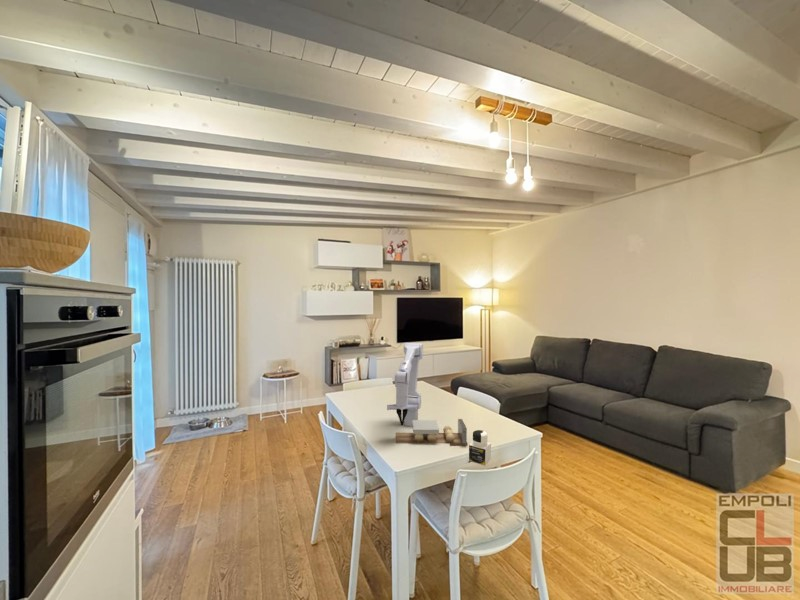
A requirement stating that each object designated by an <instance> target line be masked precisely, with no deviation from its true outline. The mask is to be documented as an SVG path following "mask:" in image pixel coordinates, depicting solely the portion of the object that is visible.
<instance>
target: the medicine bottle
mask: <svg viewBox="0 0 800 600" xmlns="http://www.w3.org/2000/svg"><path fill="white" fill-rule="evenodd" d="M491 454H492V443H491V442H489V441H488V433H487V432H486V431H485V430H480V429H476V430H473V432H472V441H471V442H470V443H469V444H468V461H469V462H470V463H475V464H477V465H481V466H487V464H488V463H489V462H490V461H491V459H492V455H491Z"/></svg>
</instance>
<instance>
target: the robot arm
mask: <svg viewBox="0 0 800 600" xmlns="http://www.w3.org/2000/svg"><path fill="white" fill-rule="evenodd" d="M403 352H404V360H402V361H401V362H400V365H399V368H398V370H397V371H396V372H395V373H394V384H395V404H394V403H393V404H386V410H387V411H390V410H393V411H394V410H396V414H397V417H398V418H399V422H400V423H399V424H400V426H404V425H405V426H407V427H413V426H412V420H419V410H420V409H421V406H422V395H421V393H420V392H419V391H418V390H417V389H418V388H417V387H418V376H419V375H418V374H419V363H420V360H422V359H423V355H424V354H423V353H424V345H423V343H422V342H420V343H418V342H404V344H403Z"/></svg>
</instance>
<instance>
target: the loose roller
mask: <svg viewBox="0 0 800 600" xmlns="http://www.w3.org/2000/svg"><path fill="white" fill-rule="evenodd" d="M442 432H443V433H444V434H445V437H446V440H447V441H448V442H450V443H451V442H453V441H454V439H455V437H454V435H453V433H454V432H453V430H452V427H450V425H445V426H444V427H443V431H442Z"/></svg>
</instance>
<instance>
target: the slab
mask: <svg viewBox="0 0 800 600" xmlns="http://www.w3.org/2000/svg"><path fill="white" fill-rule="evenodd" d="M411 427H412V433H413V434H439V433H440V429H439V425H438V421H437V420H436V419H433V420H432V419H430V420H429V419H425V420H424V419H418V420H412V426H411Z"/></svg>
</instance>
